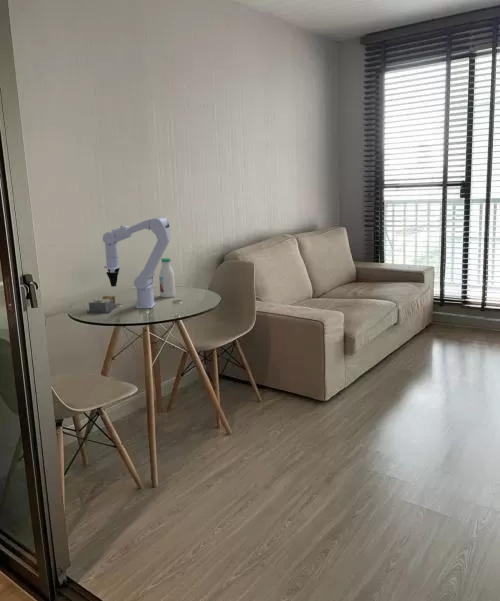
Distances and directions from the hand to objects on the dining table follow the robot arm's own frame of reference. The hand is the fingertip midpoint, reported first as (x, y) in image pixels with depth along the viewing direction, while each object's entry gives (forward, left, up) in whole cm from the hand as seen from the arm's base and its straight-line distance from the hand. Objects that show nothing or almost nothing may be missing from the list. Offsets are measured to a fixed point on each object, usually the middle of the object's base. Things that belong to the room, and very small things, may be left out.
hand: (114, 284), depth 261 cm
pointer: (+9, -4, -9) cm, 13 cm away
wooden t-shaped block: (+3, -4, -10) cm, 11 cm away
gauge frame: (+9, -4, -10) cm, 14 cm away
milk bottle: (-20, +21, -11) cm, 31 cm away
